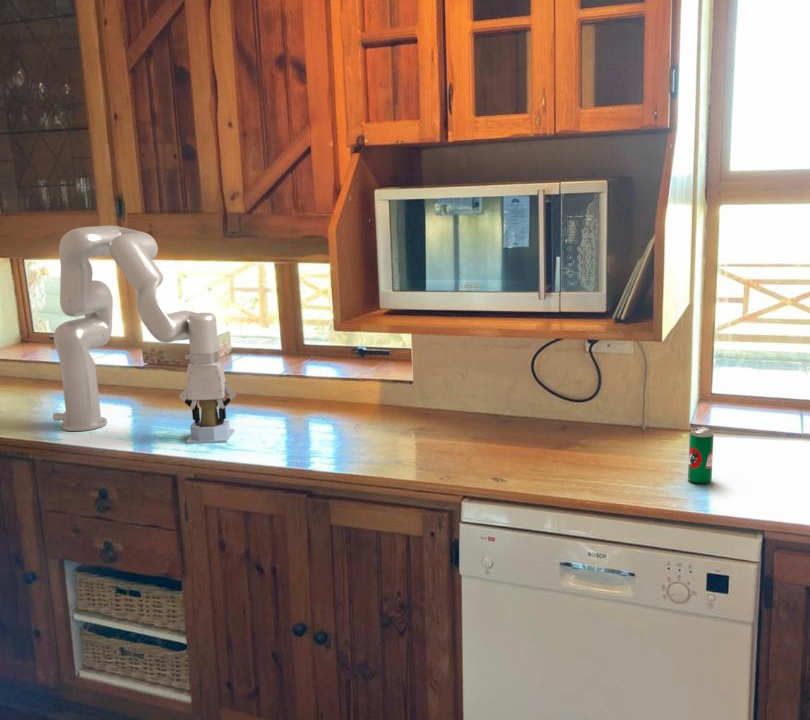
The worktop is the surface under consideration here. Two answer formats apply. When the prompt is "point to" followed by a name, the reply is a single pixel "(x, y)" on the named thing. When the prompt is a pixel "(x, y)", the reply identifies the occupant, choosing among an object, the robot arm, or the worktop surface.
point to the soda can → (700, 455)
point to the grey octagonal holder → (210, 433)
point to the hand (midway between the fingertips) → (209, 421)
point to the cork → (209, 413)
